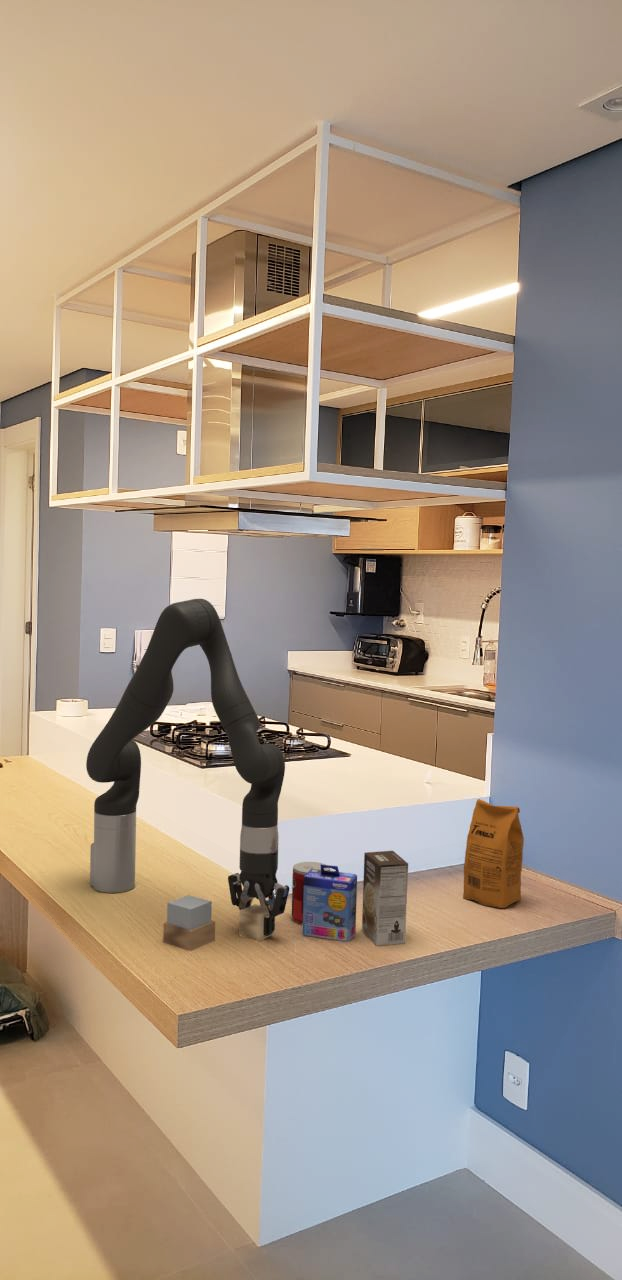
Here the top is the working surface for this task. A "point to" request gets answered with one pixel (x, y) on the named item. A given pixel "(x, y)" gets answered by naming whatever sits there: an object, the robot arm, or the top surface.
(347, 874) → the ink cartridge box
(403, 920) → the coffee box
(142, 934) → the top surface
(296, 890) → the canned food
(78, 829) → the top surface
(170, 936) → the tower base
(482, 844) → the coffee package
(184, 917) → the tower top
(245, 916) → the oak cube
